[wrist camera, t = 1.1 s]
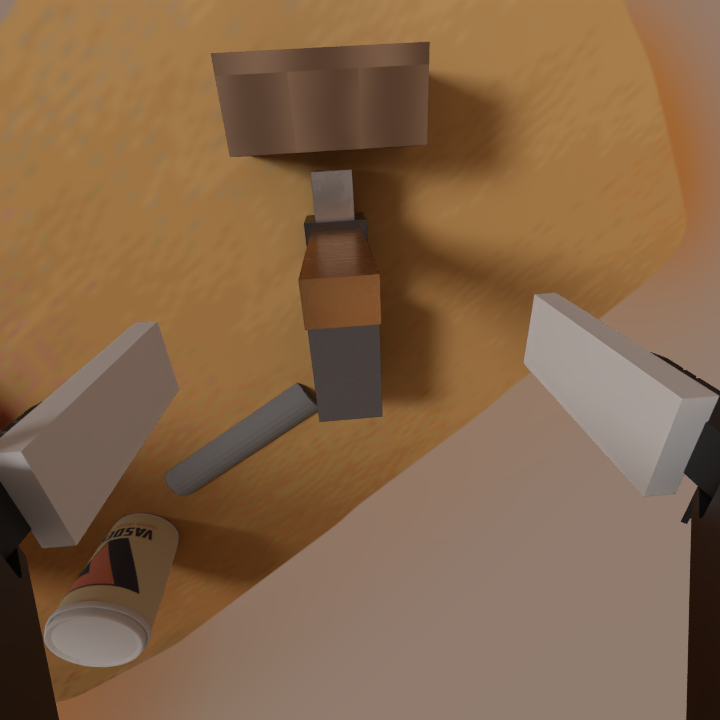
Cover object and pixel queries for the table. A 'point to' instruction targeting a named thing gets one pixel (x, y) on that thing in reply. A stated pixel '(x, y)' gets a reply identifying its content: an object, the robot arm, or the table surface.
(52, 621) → the coffee cup
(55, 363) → the table surface
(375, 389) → the dark grey block
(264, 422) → the half round rod
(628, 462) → the robot arm
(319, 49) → the walnut socket
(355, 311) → the sliding bar
